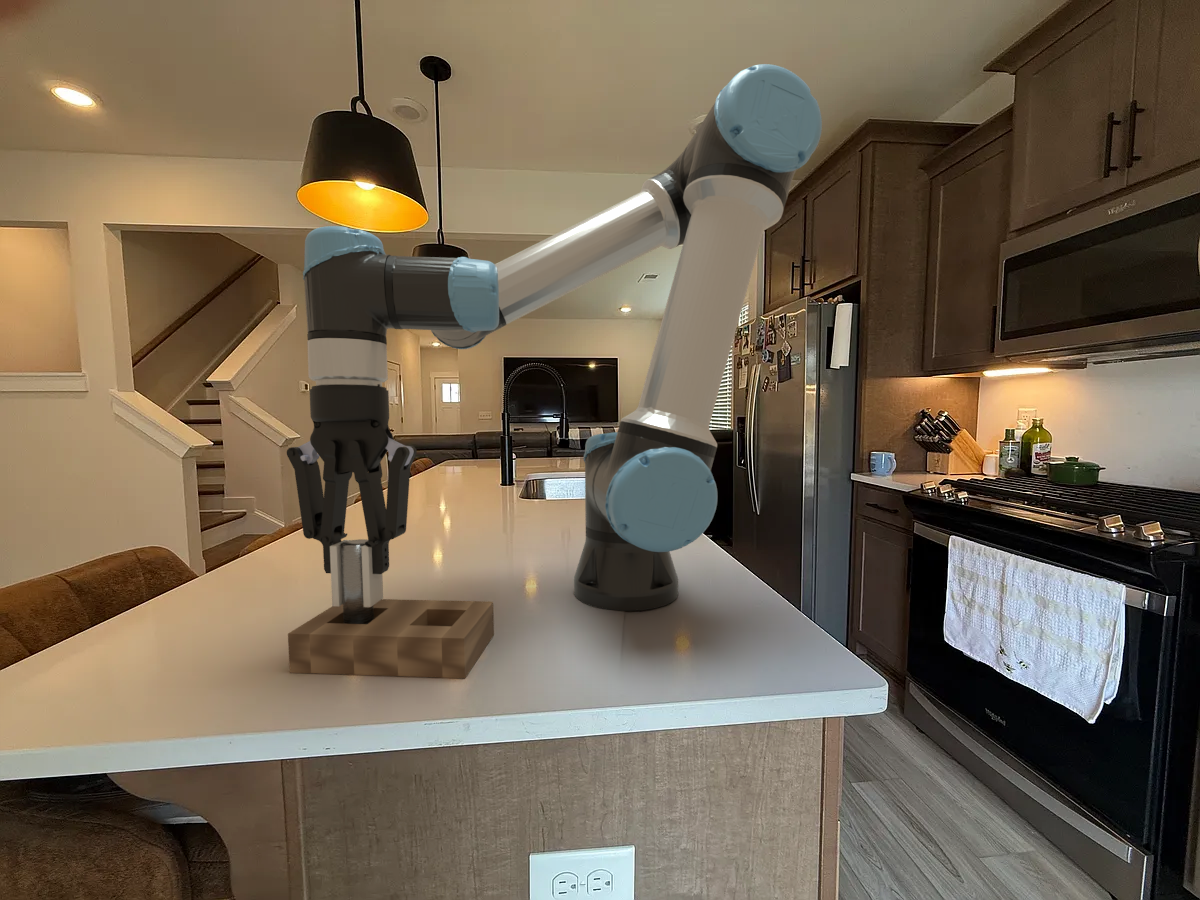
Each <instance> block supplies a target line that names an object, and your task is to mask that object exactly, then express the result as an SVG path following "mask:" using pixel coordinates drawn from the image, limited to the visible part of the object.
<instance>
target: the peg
mask: <svg viewBox="0 0 1200 900" xmlns="http://www.w3.org/2000/svg"><path fill="white" fill-rule="evenodd" d="M349 540H350V541H346V542H343V543H341V544H340V545H341V570H342V595H343V621H344V624H368V623H370V622H371V621H372V620H374V605H373V606H372V607H364V602H363V576H362V550H361V546H364V545H365V542H367V541H368V539H364V538H362V539H361V538H360V539H349Z"/></svg>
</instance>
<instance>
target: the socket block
mask: <svg viewBox="0 0 1200 900" xmlns="http://www.w3.org/2000/svg"><path fill="white" fill-rule="evenodd" d="M494 619H495V618H494V601H487V600H486V601H485V600H484V601H483V600H481V601H478V600H445V599H444V600H439V599H438V600H434V599H432V600H431V599H394V598H392V599H391V598H390V599H389V598H386V599H385V598H383V599H381V600H380V601H379V602H377V603H376V604H374V620H372V621H371V622H370V623H368V624H344V621H343V604H342V605H341V606H339V607H336V606H331V607H328V608H327V609H325V610H324V611H323V612H320V613H318V614H317V615H316V616H314V617H313V618H311V619H309V620H308V621H306V622H305V623H303V624H301V625H300V626H298V627H296V628H294V629H293V630H291V631H289V632H288V633H287V643H288V662H289V663H288V665H289V674H290V673H293V674H296V673H297V674H319V675H320V674H321V675H322V674H323V675H324V674H325V675H328V674H329V675H348V676H349V675H352V676H354V675H357V676H380V677H382V676H384V677H386V676H387V677H408V678H409V677H411V678H412V677H413V678H417V677H418V678H437V679H439V678H442V679H443V678H446V679H466V678H467V676H468V675H469V673H470V672H471V670H472V668H473V667H474V666H475V664H476V663H477V661H478V660H479V658H480V657H481V655H482V654H483V652H484V651H485V649H486V648H487V646H488V645H489V643H490V641H491V640H492V639H493V637H494V635H495V627H494V626H495V625H494V624H495V623H494V621H495V620H494Z"/></svg>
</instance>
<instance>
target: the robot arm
mask: <svg viewBox="0 0 1200 900" xmlns="http://www.w3.org/2000/svg"><path fill="white" fill-rule="evenodd" d="M811 92H812V91H811V88H810V87H809V85H808V84H807V83H806V82H805V80H803V79H802V78H801V77H800V76H798V75H797V74H796V73H795V72H793V71H791V70H789V69H787V68H786V67H783V66H779V65H775V64H771V63H770V64H768V63H763V64H762V63H761V64H755V65H751V66H749V67H747V68H745V69H742V70H741V71H739V72H737V73H736V74H735V75H734V76H733V77H732V78H731V79H730V81H729V82H728V83H727V84H726V85H725V86H724V87H723V88H722V89H721V90H720V91H719V93H718V95H717V96H716V98H715V102H714V103H713V105H712V107H711V108H710V110H709V111H708V112H707V114H706V115H705V117H704V119H703V121H702V123H701V124H700V125H699V127H698V129H697V130H696V132H695V133H694V135H692V137H691V139H690V141H689V142H688V144H687V145H686V147H685V148H684V149H683V151H682V152H681V153H680V155H678V157H677V158H676V159H675V160H673V162H672V163H671V164H670V165H669V166H667V167H666V168H665V169H664V170H662V171H661V172H660V173H658V174H656V175H654V176H652V177H650V178H648V179H646V180H645V181H644V182H643V183H642V186H641V189H640V192H638V193H635V194H634V195H632V196H630V197H628V198H626V199H624V200H622V201H619V202H618V203H616V204H614V205H612V206H610V207H608V208H605V209H603V210H601V211H600V212H597V213H595V214H593V215H591V216H589V217H587V218H585V219H583V220H581V221H579V222H577V223H575V224H573V225H571V226H569V227H567V228H565V229H563V230H561V231H559V232H556V233H555V234H553V235H551V236H549V237H547V238H545V239H543V240H541V241H538V242H537V243H535V244H533V245H531V246H528V247H527V248H525V249H523V250H520V251H519V252H517V253H515V254H513V255H510V256H508V257H506V258H504V259H502V260H501V261H499V262H497V263H494V262H492V261H490V260H484V259H474V258H469V257H467V256H460V257H459V256H458V257H441V256H439V257H435V256H432V257H431V256H411V255H407V256H405V255H391V254H386V252H385V249H384V244H383V242H382V240H381V239H380V238H379V237H378V236H376V235H375V234H373V233H370V232H369V231H365V230H362V229H358V228H355V229H353V228H350V227H347V226H341V225H340V226H339V225H338V226H337V225H330V226H329V225H326V226H322V227H317V228H314V229H313V230H311V231H309V233H307V235H306V237H305V240H304V263H303V264H304V267H303V270H302V275H303V276H302V279H303V282H304V296H305V311H306V312H305V314H306V325H307V326H306V327H307V366H308V370H307V371H308V379H309V380H311V381H312V382H315V385H312V386H311V388H310V389H309V409H310V418H311V421H312V422H313V429H312V432H311V434H310V437H309V441H307V442H305V443H303V444H301V445H300V446H291V447H288V449H287V450H286V455H287V458H288V460H289V462H290V463H291V466H292V468H293V469H294V475H295V476H294V477H295V482H296V483H295V484H296V489H297V497H298V505H299V512H300V518H301V526H302V533H303V536H304V538H306V539H308V540H309V539H313V540H316V541H318V542H320V543H321V544H322V555H323V570H324V572H325V573H326V574H330V582H331V583H330V584H331V587H330V588H331V605H332V606H336V607H339V606H341V605H342V604H343V595H342V570H341V545H340V544H341V543H343V542H346V541H350V540H351V539H345V538H346V537H347V536H348V533H345V525H346V515H347V505H348V494H349V484H350V480H351V478H352V476H353V475H354V480H355V481H356V483H357V484H358V488H359V495H360V499H361V504H362V510H363V511H362V512H363V517H364V522H365V529H366V535H367V540H368V541H367V542H365V545H364V546H361V550H362V576H363V602H364V607H372V606H373V605H374V604H376V603H377V602H379V601H380V600H381V599H384V584H383V583H384V582H383V574H384V573H386V572H388V571H389V568H390V549H389V548H390V547H389V546H390V545H389V544H390V541H391V540H393V539H396V538H398V537H399V536H400V537H401V536H402V535H405V533H406V532H407V523H408V522H407V520H408V508H409V507H408V505H409V490H410V479H411V477H410V476H411V467H412V465H413V462H414V460H415V457H416V456H417V453H418V450H417V448H416V447H415V446H414V445H405V444H403V443H401V442H398V441H397V440H395V439H394V436H393V433H392V431H391V430H390V427H389V420H390V400H389V398H390V394H389V393H390V392H389V390H387V387H385V386H383V383H386V382H387V381H388V379H389V378H388V377H389V376H388V375H389V374H388V372H389V371H388V348H387V345H388V342H387V334H388V333H387V332H388V329H394V330H417V331H418V330H420V331H421V330H422V331H423V330H424V331H430V332H431V333H432V335H433V336H434V337H435V338H437V340H438V341H439V342H440V343H442V344H443V345H445V346H447V347H450V348H452V349H457V350H469V349H472V348H474V347H476V346H478V345H479V344H480V343H481V342H482V341H483V340H484V339H485V338H486V336H488V335H490V334H493V333H494V332H496V331H498V330H500V329H502V328H503V327H505V326H507V325H508V324H510V323H512V322H514V321H516V320H518V319H521V318H522V317H524V316H526V315H528V314H530V313H532V312H534V311H536V310H538V309H540V308H542V307H544V306H546V305H548V304H550V303H552V302H553V301H556V300H558V299H560V298H562V297H564V296H566V295H567V294H569V293H571V292H574V291H576V290H578V289H579V288H581V287H583V286H585V285H588V284H590V283H591V282H594V281H595V280H597V279H599V278H601V277H603V276H605V275H607V274H609V273H612V272H613V271H615V270H618V269H620V268H621V267H623V266H625V265H627V264H629V263H631V262H633V261H635V260H636V259H638V258H640V257H642V256H645V255H646V254H649V253H651V252H652V251H654V250H656V249H658V248H660V247H662V248H665V249H668V250H672V249H675V248H676V247H679V246H681V245H682V247H681V251H680V254H679V258H678V261H677V265H676V269H675V272H674V276H673V280H672V282H671V286H670V290H669V294H668V297H667V302H666V305H665V308H664V312H663V315H662V319H661V323H660V326H659V331H658V333H657V337H656V340H655V344H654V348H653V351H652V354H651V359H650V363H649V366H648V369H647V373H646V376H645V381H644V384H643V388H642V391H641V395H640V399H639V402H638V406H637V408H636V409H635V410H634V411H632V412H630V413H629V414H627V415H625V416H623V417H622V418H621V419H620V420H619V421H620V422H619V425H618V429H617V432H613V431H612V432H607V433H599V434H593V435H592V436H590V437H588V438H587V439H586V441H585V445H584V447H585V449H584V453H583V461H584V482H585V483H584V485H585V486H584V488H585V493H584V495H585V497H584V498H585V500H584V502H585V504H584V505H585V506H584V507H585V509H584V510H585V511H584V512H585V517H584V518H585V520H584V521H585V540H584V543H583V544H584V545H583V548H582V551H581V555H580V558H579V561H578V564H577V567H576V570H575V574H574V579H573V595H574V596H575V598H576V599H577V600H578V601H580V602H581V603H583V604H586V605H588V606H590V607H594V608H597V609H603V610H608V611H609V610H611V611H619V612H621V611H623V612H625V611H626V612H627V611H629V612H631V611H634V612H635V611H646V610H652V609H657V608H661V607H664V606H667V605H669V604H671V603H673V602H674V601H675V600H676V599H678V596H679V578H678V574H677V571H676V568H675V565H674V561H673V558H672V556H671V555H672V554H671V552H673V551H677V550H679V549H680V550H681V549H682V548H684V547H686V546H689V545H690V544H692V543H694V542H695V541H696V540H697V539H698V538H700V536H702V535H703V534H704V533H705V531H706V530H707V529H708V528H709V526H710V524H711V522H712V521H713V519H714V516H715V513H716V510H717V506H718V488H717V483H716V481H715V478H714V476H713V475H714V474H713V473H712V467H713V463H714V460H715V456H716V454H717V453H716V452H717V449H718V443H717V441H716V439H715V438H714V436H713V434H712V432H711V430H710V423H711V420H712V416H713V412H714V409H715V406H716V401H717V398H718V394H719V391H720V387H721V384H722V381H723V377H724V374H725V370H726V367H727V364H728V360H729V355H730V353H731V349H732V345H733V341H734V338H735V334H736V330H737V327H738V324H739V320H740V316H741V313H742V310H743V306H744V302H745V299H746V295H747V293H748V292H747V291H748V288H749V286H750V285H749V284H750V282H751V281H750V280H751V277H752V273H753V269H754V267H755V264H756V263H755V262H756V260H757V255H758V252H759V248H760V246H761V241H762V239H763V235H764V234H763V233H764V231H765V230H767V229H769V228H771V227H773V226H774V225H775V224H777V223H778V222H779V221H780V219H782V216H783V213H784V210H785V206H786V203H787V200H788V196H789V193H790V189H791V186H792V182H793V178H794V176H795V173H796V171H797V170H798V169H800V168H802V167H803V166H805V165H806V164H807V162H809V160H810V158H811V157H812V154H814V152H815V151H816V150H817V147H818V146H819V143H820V139H821V136H822V131H823V130H822V128H823V122H822V121H823V120H822V112H821V109H820V106H819V102H818V100H817V99H816V98H815V97H814V96H813V95H812V93H811ZM387 453H388V457H387V459H388V461H389V462H390V463H389V468H388V474H387V475H388V476H387V488H386V489H387V491H386V492H387V493H386V501H385V493H384V488H383V484H382V477H383V469H382V463H381V461H382V460H383V459H384V457H385V456H386V454H387ZM320 458H321V460H322V461H323V472H322V475H321V470H320V469H321V468H320V465H319V462H318V460H319V459H320ZM322 479H323V481H324V488H323V484H322V483H323V482H322ZM323 489H324V490H323ZM342 539H344V540H342ZM332 606H331V607H332Z"/></svg>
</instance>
